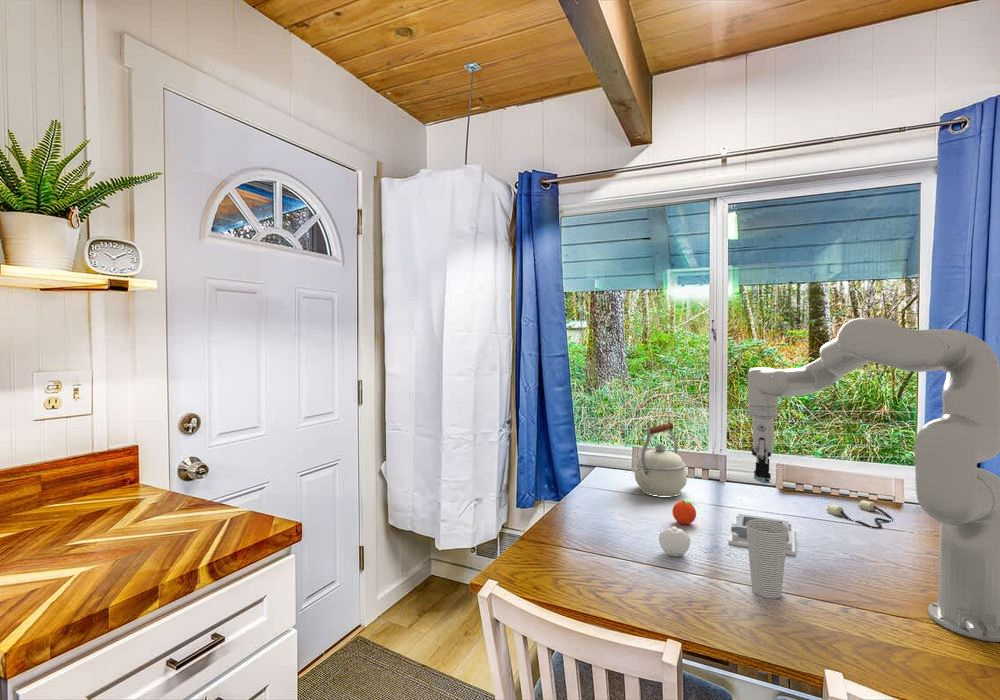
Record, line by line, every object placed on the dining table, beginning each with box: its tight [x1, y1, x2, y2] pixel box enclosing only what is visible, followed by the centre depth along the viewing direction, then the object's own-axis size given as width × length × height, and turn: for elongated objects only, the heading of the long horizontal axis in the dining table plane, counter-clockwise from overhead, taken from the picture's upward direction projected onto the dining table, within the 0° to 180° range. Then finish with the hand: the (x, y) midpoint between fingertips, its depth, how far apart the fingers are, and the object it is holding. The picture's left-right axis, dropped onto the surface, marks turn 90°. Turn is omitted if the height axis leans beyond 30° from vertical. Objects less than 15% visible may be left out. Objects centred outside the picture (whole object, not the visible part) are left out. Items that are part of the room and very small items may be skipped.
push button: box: [750, 447, 772, 484], centre depth 143 cm, size 7×5×10 cm
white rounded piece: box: [658, 525, 691, 558], centre depth 134 cm, size 8×8×8 cm
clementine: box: [672, 500, 699, 525], centre depth 156 cm, size 8×7×7 cm
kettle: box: [634, 422, 688, 496], centre depth 185 cm, size 25×18×25 cm
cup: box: [746, 519, 788, 600], centre depth 115 cm, size 8×8×16 cm
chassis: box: [728, 513, 796, 556], centre depth 144 cm, size 18×16×4 cm
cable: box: [825, 499, 894, 529], centre depth 158 cm, size 16×16×4 cm
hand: (762, 473), depth 144 cm, fingers closed on push button, 5 cm apart
